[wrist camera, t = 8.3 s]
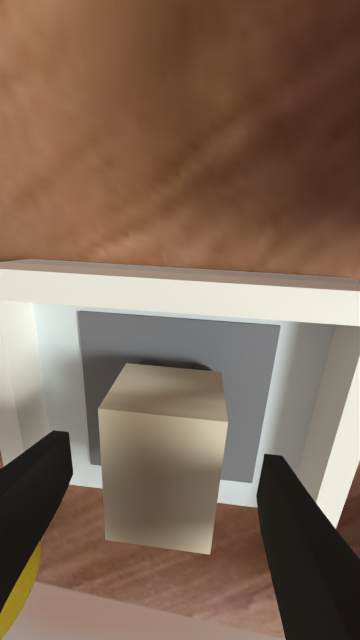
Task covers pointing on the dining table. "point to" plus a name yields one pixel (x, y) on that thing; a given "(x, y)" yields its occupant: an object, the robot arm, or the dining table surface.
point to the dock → (188, 362)
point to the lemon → (20, 592)
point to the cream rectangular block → (162, 455)
